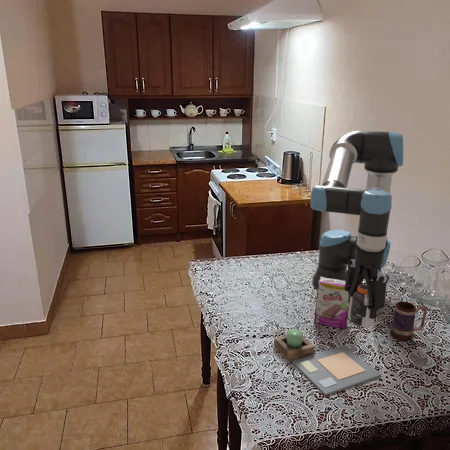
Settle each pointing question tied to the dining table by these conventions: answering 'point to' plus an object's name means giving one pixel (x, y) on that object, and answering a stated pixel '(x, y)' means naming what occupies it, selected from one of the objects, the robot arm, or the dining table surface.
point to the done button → (294, 338)
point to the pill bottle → (360, 305)
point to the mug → (405, 321)
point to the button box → (295, 353)
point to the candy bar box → (331, 303)
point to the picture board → (335, 369)
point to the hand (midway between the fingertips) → (360, 321)
